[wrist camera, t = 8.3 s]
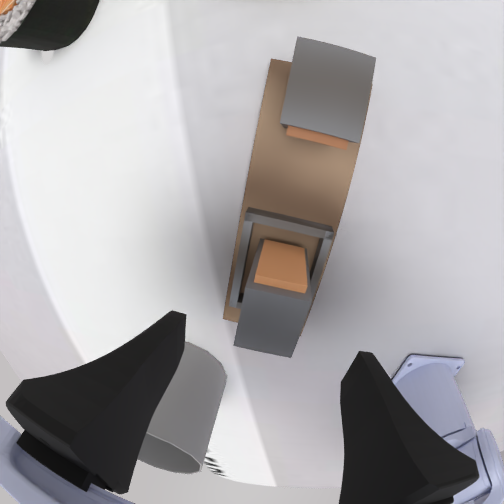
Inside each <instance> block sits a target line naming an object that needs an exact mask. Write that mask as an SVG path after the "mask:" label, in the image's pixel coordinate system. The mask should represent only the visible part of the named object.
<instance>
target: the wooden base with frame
mask: <svg viewBox="0 0 504 504" xmlns="http://www.w3.org/2000/svg"><path fill="white" fill-rule="evenodd" d="M375 61H376V58H375V57H372V56H369V55H366V54H363V53H360V52H357V51H354V50H350V49H347V48H344V47H340V46H336V45H333V44H329V43H325V42H321V41H316V40H312V39H307V38H302V37H297V41H296V46H295V51H294V56H293V61H292V62H287V61H282V60H276V59H271V62H270V67H269V71H268V76H267V81H266V86H265V91H264V96H263V101H262V105H261V110H260V115H259V120H258V126H257V131H256V136H255V141H254V146H253V151H252V156H251V162H250V167H249V172H248V178H247V183H246V188H245V194H244V199H243V205H242V210H241V216H240V221H239V227H238V232H237V238H236V244H235V249H234V255H233V261H232V267H231V273H230V278H229V284H228V290H227V296H226V302H225V308H224V314H223V319H225V320H229V321H233V322H238V321H239V316H240V311H241V306H242V301H243V296H244V291H245V287H246V283H247V280H248V277H249V274H250V270H251V267H252V264H253V260H254V257H255V254H256V251H257V247H258V244H259V241H260V238H261V239H266V240H271V241H275V242H280V243H284V244H288V245H293V246H297V247H302V248H306V249H307V255H308V264H309V274H310V285H311V296H312V303H311V306H310V309H309V312H310V310H311V307H312V304H313V301H314V299H315V296H316V293H317V290H318V287H319V284H320V282H321V279H322V276H323V273H324V270H325V267H326V264H327V261H328V258H329V255H330V251H331V248H332V245H333V242H334V239H335V236H336V232H337V229H338V226H339V222H340V219H341V215H342V212H343V209H344V205H345V201H346V198H347V194H348V191H349V187H350V183H351V179H352V175H353V172H354V168H355V164H356V160H357V155H358V151H359V147H360V143H361V138H362V134H363V129H364V125H365V120H366V115H367V110H368V105H369V100H370V95H371V89H372V79H373V73H374V67H375ZM309 312H308V315H309ZM308 315H307V317H306V320H307V318H308ZM306 320H305V323H306ZM305 323H304V325H303V328H304V326H305ZM303 328H302V331H303ZM302 331H301V333H302ZM301 333H300V336H301Z"/></svg>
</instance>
